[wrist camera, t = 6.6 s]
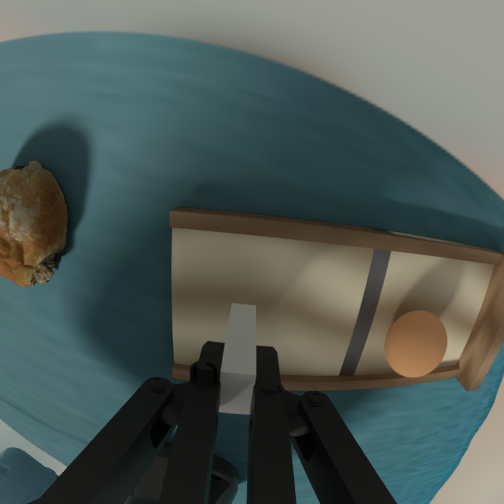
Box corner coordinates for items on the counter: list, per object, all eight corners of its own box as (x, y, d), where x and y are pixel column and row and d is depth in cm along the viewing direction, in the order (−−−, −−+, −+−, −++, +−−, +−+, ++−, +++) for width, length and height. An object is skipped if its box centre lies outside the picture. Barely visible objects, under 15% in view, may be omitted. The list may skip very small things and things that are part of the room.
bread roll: (92, 171, 21) (38, 127, 13) (83, 289, 19) (12, 282, 12) (23, 189, 21) (-28, 162, 13) (13, 288, 20) (-46, 281, 12)
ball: (434, 377, 17) (416, 398, 14) (389, 351, 21) (362, 364, 18) (462, 322, 16) (452, 332, 13) (412, 298, 20) (390, 301, 17)
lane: (458, 364, 22) (478, 388, 18) (178, 363, 22) (165, 399, 18) (500, 250, 19) (530, 265, 14) (178, 206, 18) (155, 218, 14)
